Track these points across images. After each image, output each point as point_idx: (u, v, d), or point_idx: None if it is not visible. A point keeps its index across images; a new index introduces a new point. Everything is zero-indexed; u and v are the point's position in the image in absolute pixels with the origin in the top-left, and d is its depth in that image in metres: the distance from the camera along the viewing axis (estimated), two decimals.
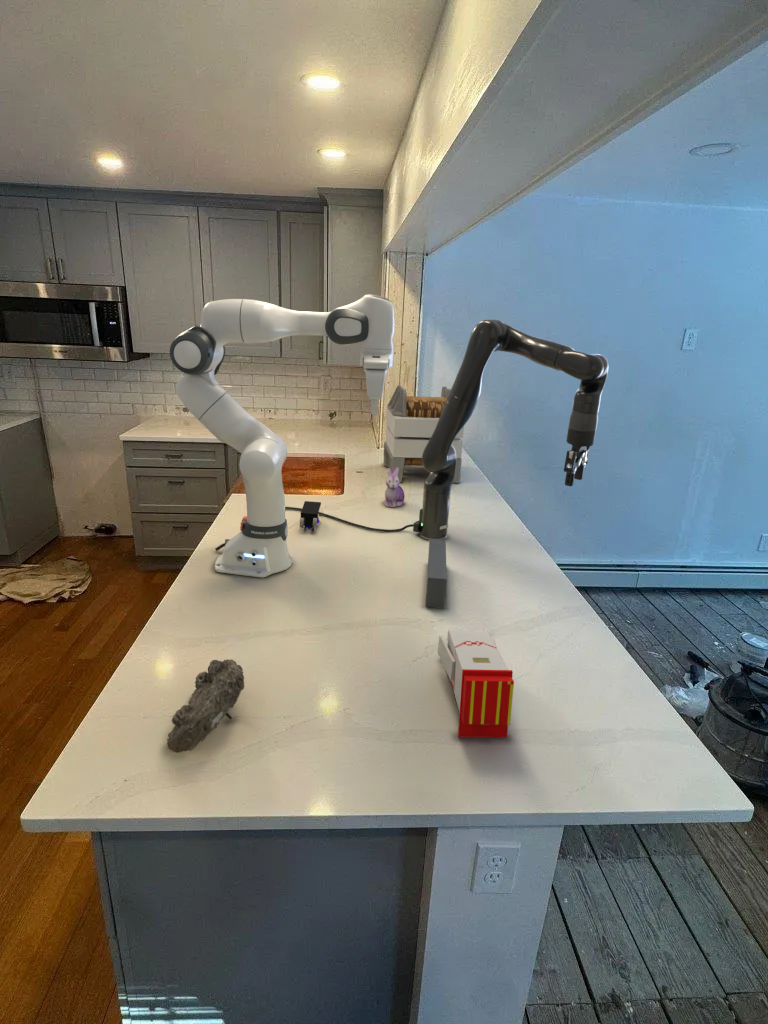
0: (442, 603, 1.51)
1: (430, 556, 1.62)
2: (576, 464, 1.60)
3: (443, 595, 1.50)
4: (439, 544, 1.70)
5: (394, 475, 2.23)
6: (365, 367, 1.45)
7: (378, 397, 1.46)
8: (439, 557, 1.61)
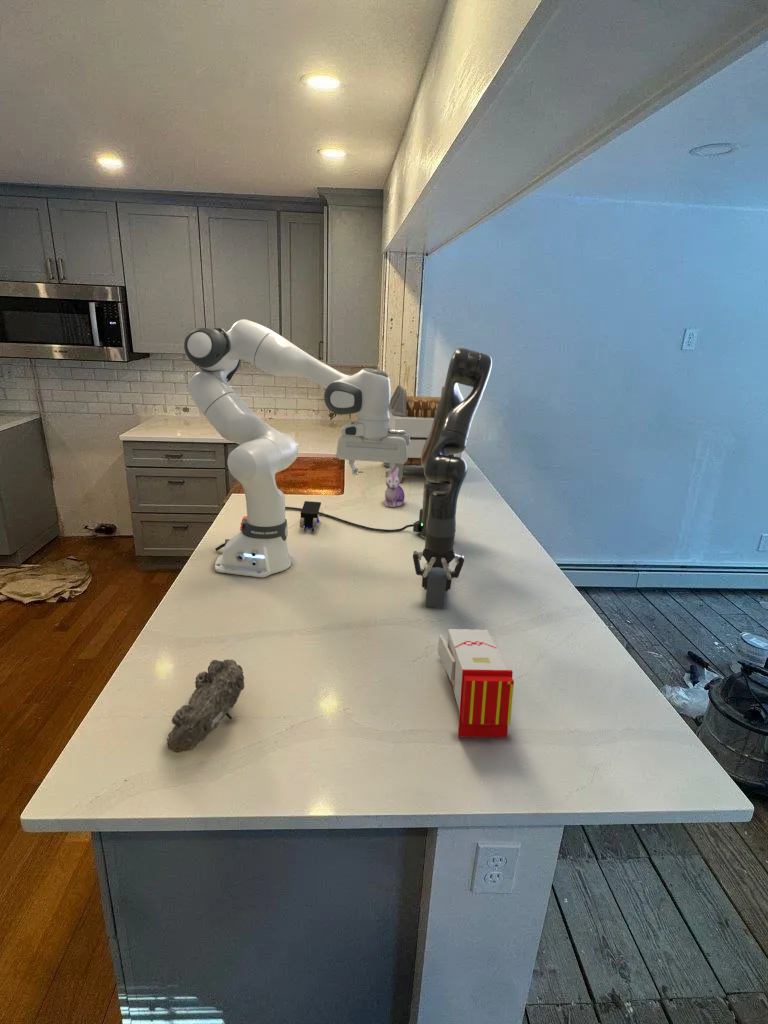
0: (442, 603, 1.51)
1: None
2: (425, 568, 1.50)
3: (443, 595, 1.50)
4: None
5: (394, 475, 2.23)
6: None
7: None
8: None
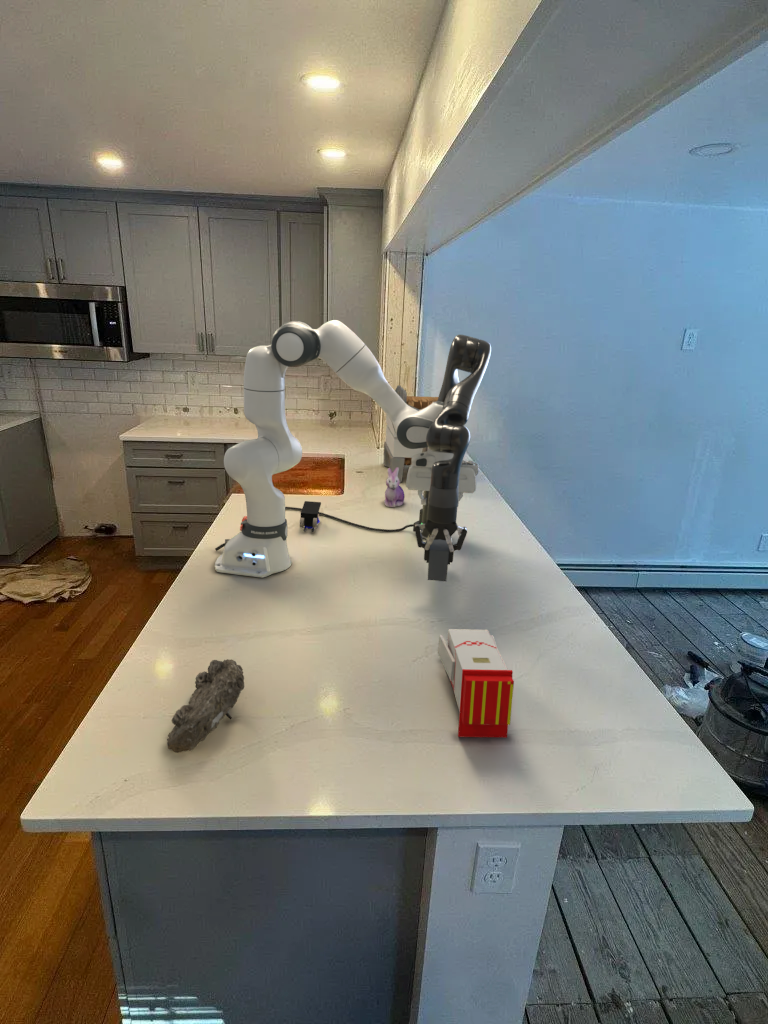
0: (444, 576, 1.48)
1: None
2: (428, 540, 1.47)
3: (445, 568, 1.47)
4: None
5: (394, 475, 2.23)
6: None
7: None
8: None
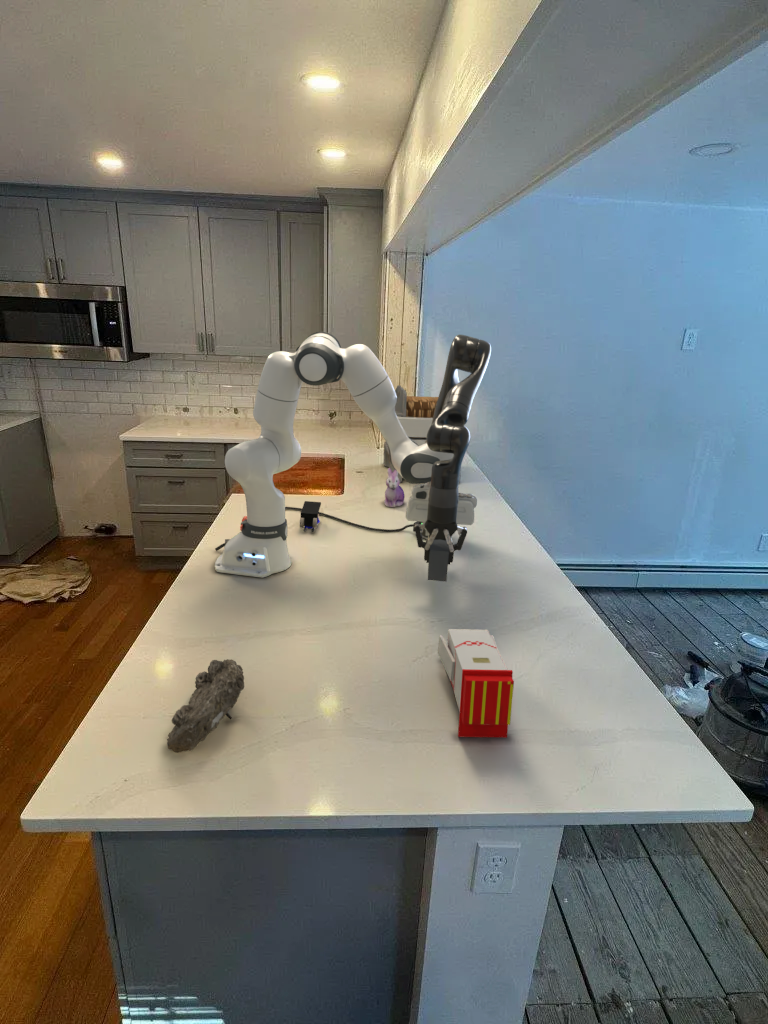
0: (444, 576, 1.48)
1: None
2: (428, 540, 1.47)
3: (445, 568, 1.47)
4: None
5: (394, 475, 2.23)
6: None
7: (406, 518, 1.68)
8: None
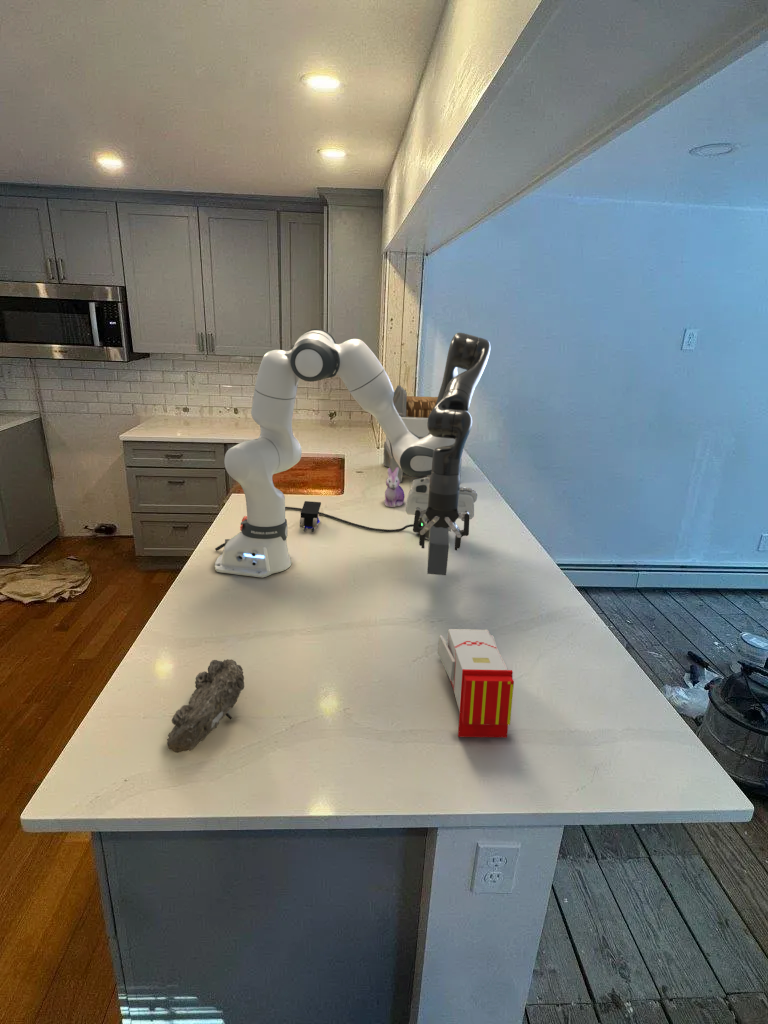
0: (444, 570, 1.48)
1: None
2: (425, 525, 1.44)
3: (445, 562, 1.47)
4: None
5: (394, 475, 2.23)
6: None
7: (406, 511, 1.67)
8: None
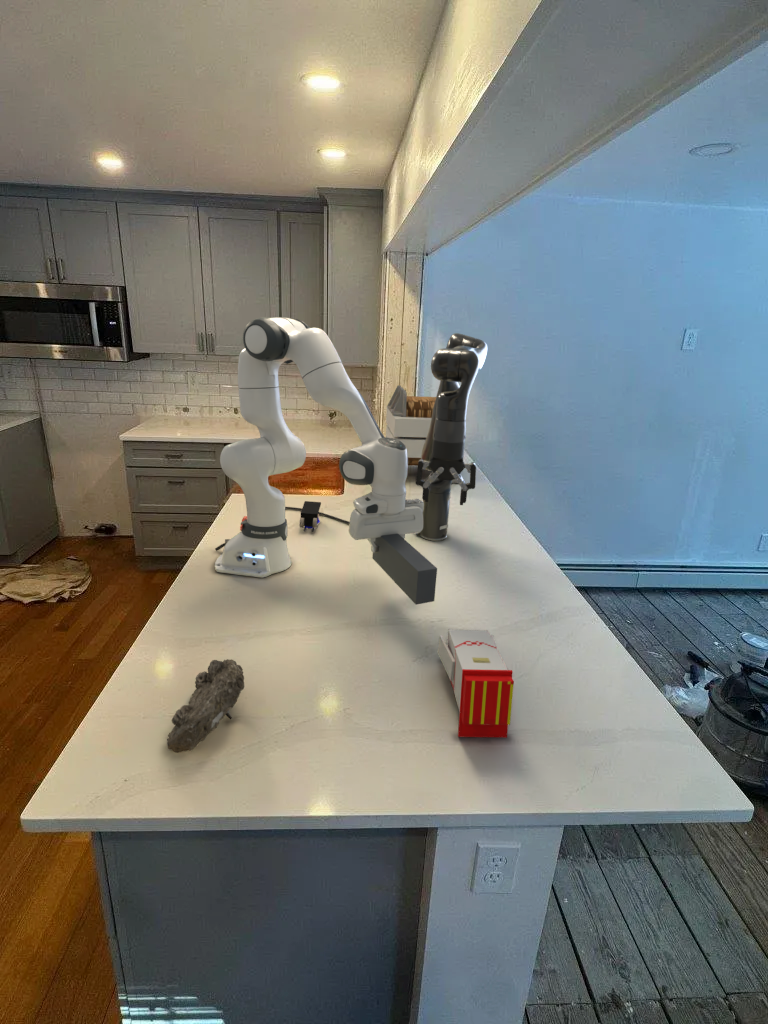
0: (432, 596, 1.33)
1: (394, 547, 1.40)
2: (429, 478, 1.35)
3: (433, 587, 1.32)
4: None
5: None
6: (354, 506, 1.46)
7: (353, 537, 1.45)
8: (404, 546, 1.41)
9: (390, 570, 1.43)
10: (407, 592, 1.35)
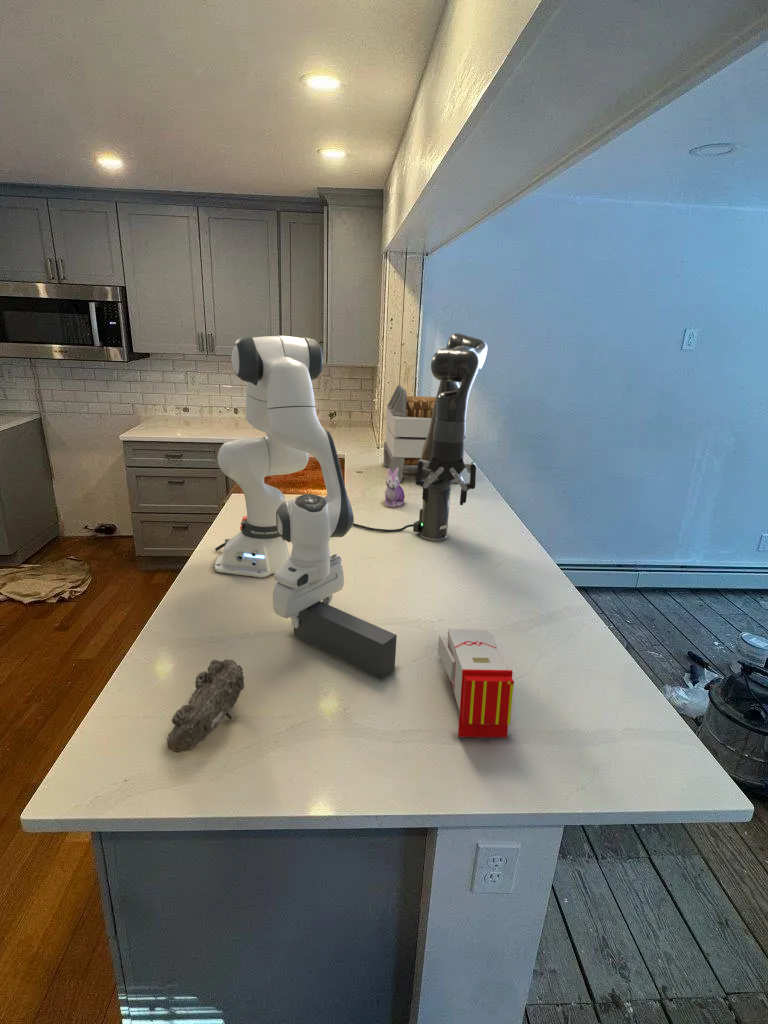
0: (393, 664, 1.24)
1: (335, 621, 1.26)
2: (429, 478, 1.35)
3: (394, 654, 1.23)
4: None
5: (394, 475, 2.23)
6: (275, 580, 1.25)
7: (282, 616, 1.25)
8: (343, 617, 1.28)
9: (330, 646, 1.29)
10: (364, 667, 1.24)
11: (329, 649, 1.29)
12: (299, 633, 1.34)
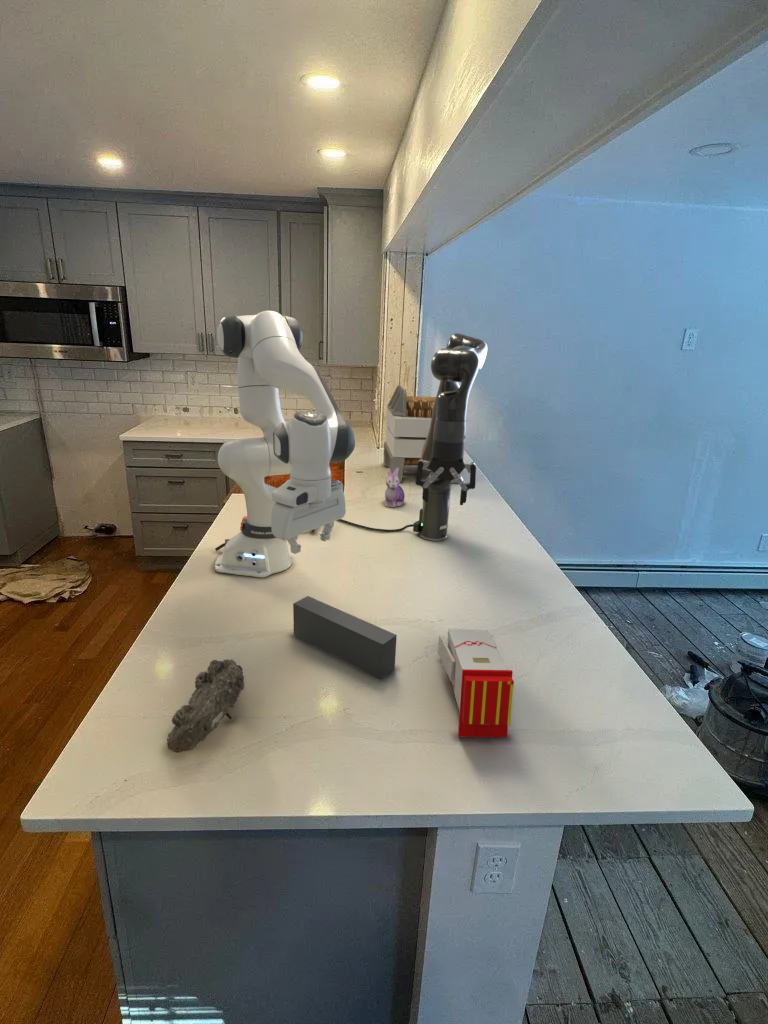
0: (393, 664, 1.24)
1: (335, 621, 1.26)
2: (429, 478, 1.35)
3: (394, 654, 1.23)
4: (313, 603, 1.33)
5: (394, 475, 2.23)
6: (273, 499, 1.19)
7: (281, 538, 1.18)
8: (343, 617, 1.28)
9: (330, 646, 1.29)
10: (364, 667, 1.24)
11: (329, 649, 1.29)
12: (299, 633, 1.34)
